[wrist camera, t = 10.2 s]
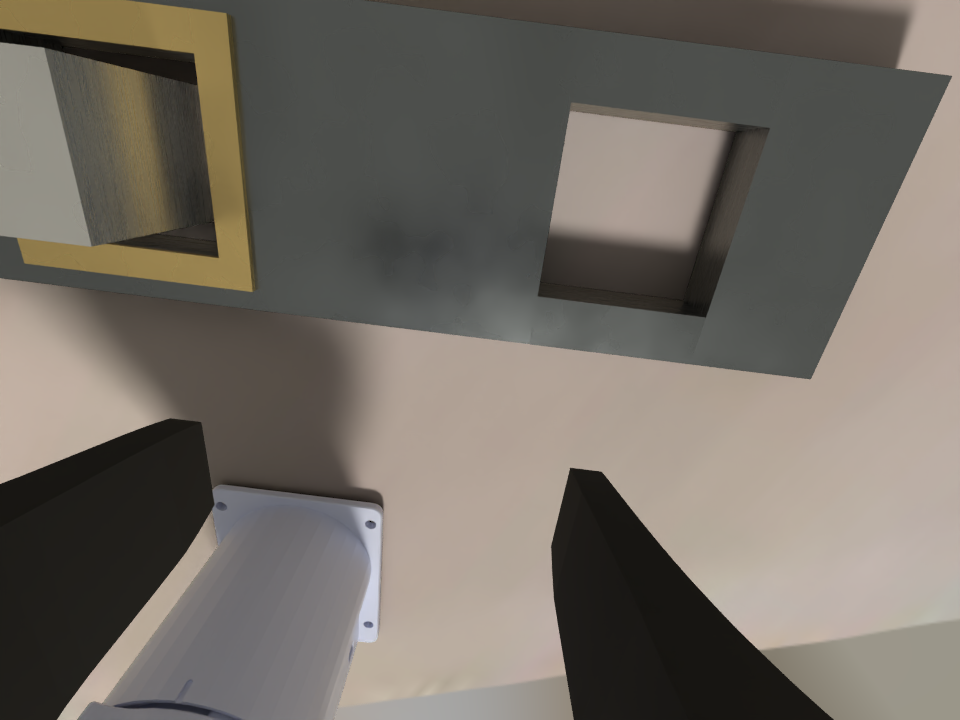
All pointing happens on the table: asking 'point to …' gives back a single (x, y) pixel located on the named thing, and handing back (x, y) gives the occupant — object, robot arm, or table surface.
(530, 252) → the grey slotted board
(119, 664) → the table surface
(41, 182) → the steel block
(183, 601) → the robot arm
